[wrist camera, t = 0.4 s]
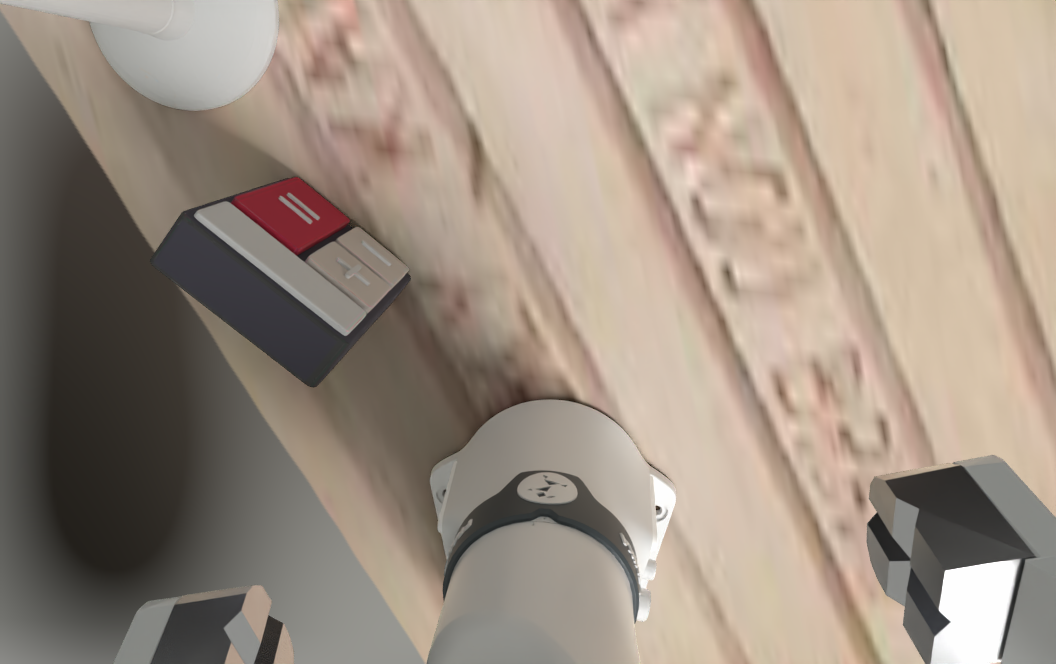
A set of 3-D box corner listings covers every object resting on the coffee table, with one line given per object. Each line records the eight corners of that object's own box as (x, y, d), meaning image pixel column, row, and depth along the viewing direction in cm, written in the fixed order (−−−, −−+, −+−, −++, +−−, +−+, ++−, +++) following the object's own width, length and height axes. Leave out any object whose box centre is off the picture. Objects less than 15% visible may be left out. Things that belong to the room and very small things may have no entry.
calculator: (419, 269, 55) (358, 335, 41) (384, 312, 56) (312, 391, 42) (295, 167, 53) (187, 199, 39) (262, 214, 55) (145, 262, 40)
